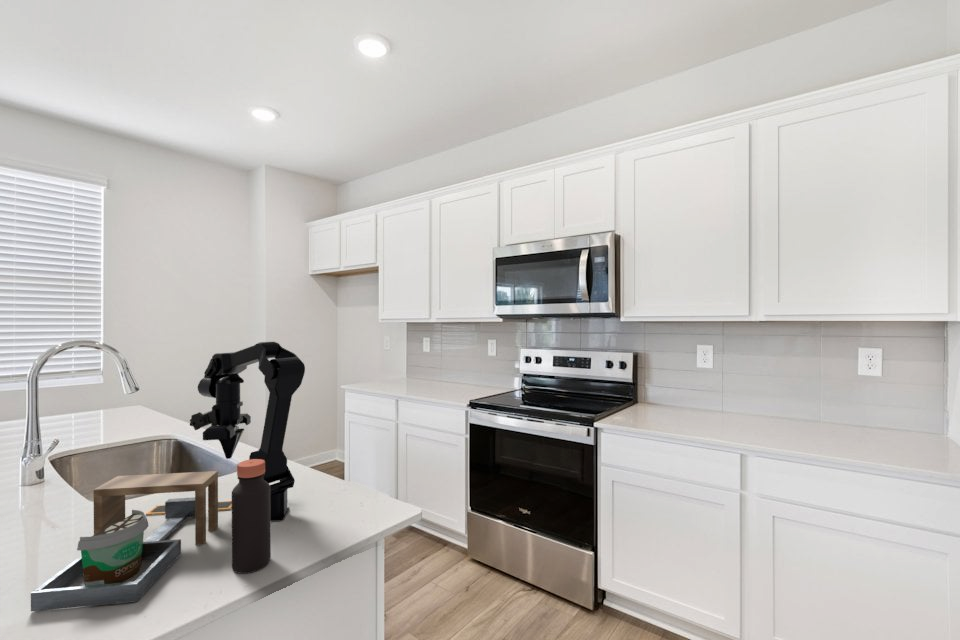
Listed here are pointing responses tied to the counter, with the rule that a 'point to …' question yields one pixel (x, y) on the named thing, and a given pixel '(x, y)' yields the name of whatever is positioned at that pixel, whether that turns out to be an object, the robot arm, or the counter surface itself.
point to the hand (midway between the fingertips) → (228, 458)
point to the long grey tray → (153, 547)
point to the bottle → (251, 518)
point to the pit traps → (161, 508)
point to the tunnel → (113, 492)
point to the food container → (114, 551)
